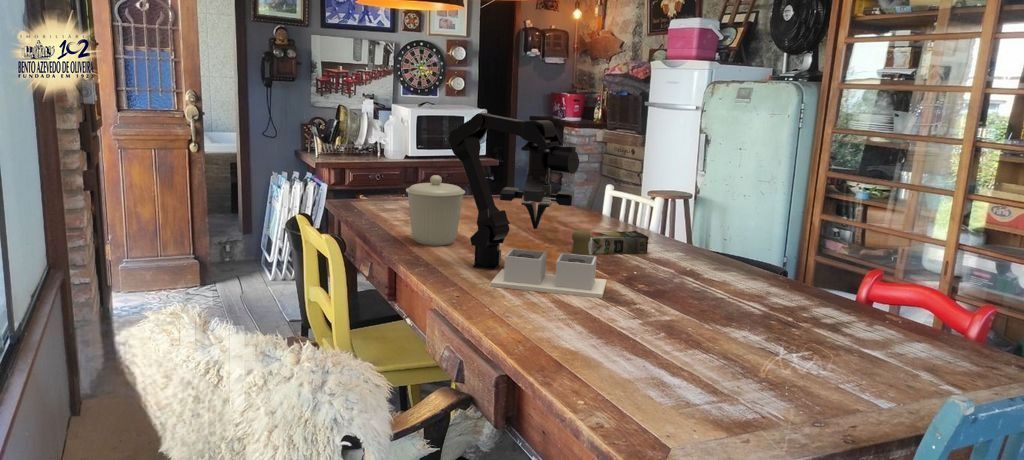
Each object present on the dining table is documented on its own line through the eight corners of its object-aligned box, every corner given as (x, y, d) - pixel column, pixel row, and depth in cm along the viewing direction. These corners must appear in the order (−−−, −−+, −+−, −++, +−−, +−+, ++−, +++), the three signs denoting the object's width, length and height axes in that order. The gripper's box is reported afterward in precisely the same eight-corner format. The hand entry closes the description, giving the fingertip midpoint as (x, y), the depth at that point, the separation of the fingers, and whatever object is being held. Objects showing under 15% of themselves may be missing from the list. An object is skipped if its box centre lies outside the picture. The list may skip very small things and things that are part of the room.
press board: (490, 286, 182) (491, 257, 181) (502, 272, 196) (503, 245, 194) (602, 298, 177) (604, 268, 176) (606, 283, 191) (608, 255, 189)
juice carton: (588, 255, 220) (589, 236, 219) (576, 248, 230) (577, 229, 228) (647, 255, 226) (649, 236, 225) (633, 248, 235) (635, 229, 234)
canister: (460, 250, 218) (463, 180, 214) (400, 247, 218) (401, 177, 214) (465, 237, 236) (468, 173, 231) (409, 234, 236) (411, 170, 231)
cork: (588, 272, 200) (591, 233, 198) (566, 270, 201) (569, 231, 199) (590, 267, 206) (593, 229, 204) (569, 265, 207) (572, 227, 205)
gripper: (496, 170, 181) (493, 231, 184) (571, 176, 178) (566, 238, 181) (505, 165, 192) (502, 223, 195) (576, 170, 189) (572, 229, 192)
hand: (535, 228), depth 191 cm, fingers closed
